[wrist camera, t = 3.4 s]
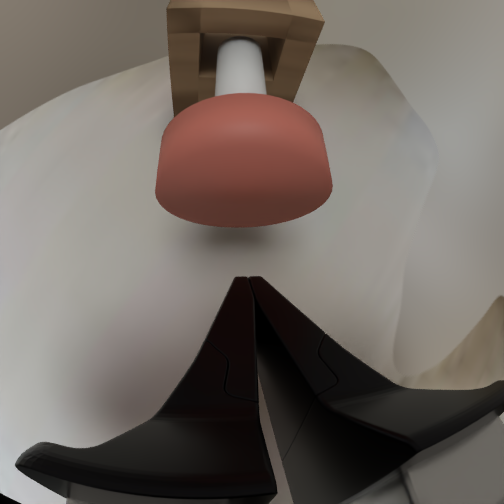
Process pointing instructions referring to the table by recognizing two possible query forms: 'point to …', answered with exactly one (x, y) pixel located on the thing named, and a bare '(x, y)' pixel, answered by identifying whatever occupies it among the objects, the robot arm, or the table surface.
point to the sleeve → (239, 24)
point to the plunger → (242, 151)
